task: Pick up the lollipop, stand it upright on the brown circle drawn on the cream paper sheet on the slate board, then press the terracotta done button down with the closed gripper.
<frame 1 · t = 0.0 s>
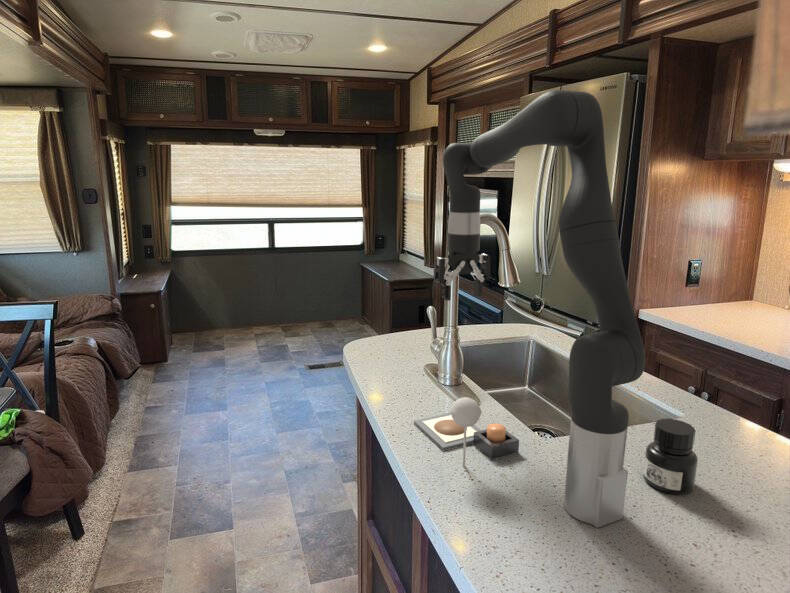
hand: (462, 298, 129), 29 cm above the worktop, tool pointing down, fingers open, 8 cm apart
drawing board: (450, 431, 125), on the worktop
button housing: (495, 448, 117), on the worktop
done button: (496, 434, 116), point 3 cm above the worktop, slide at 0.0 cm
lollipop: (463, 466, 111), on the worktop
ink bottle: (667, 483, 105), on the worktop
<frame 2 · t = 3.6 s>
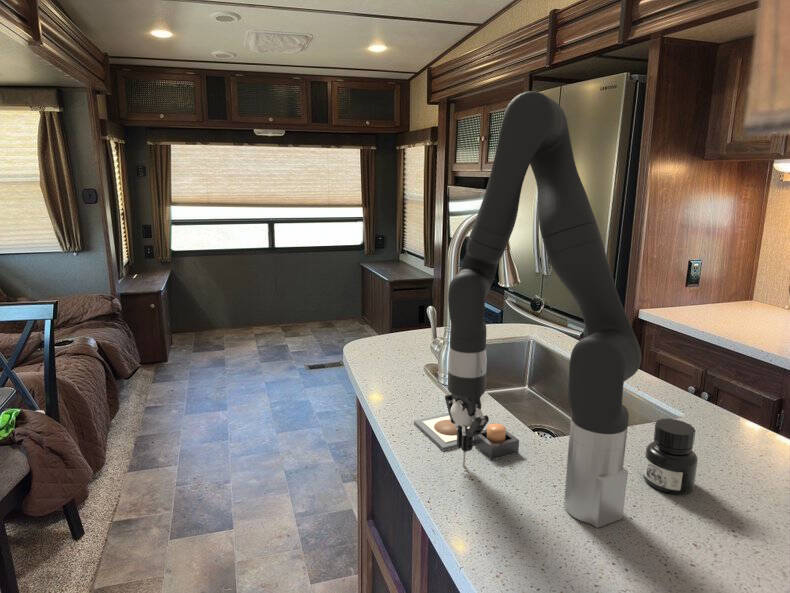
hand: (464, 448, 110), 4 cm above the worktop, tool pointing down, fingers closed on lollipop
lollipop: (463, 466, 111), on the worktop, touching gripper
everything else where it was.
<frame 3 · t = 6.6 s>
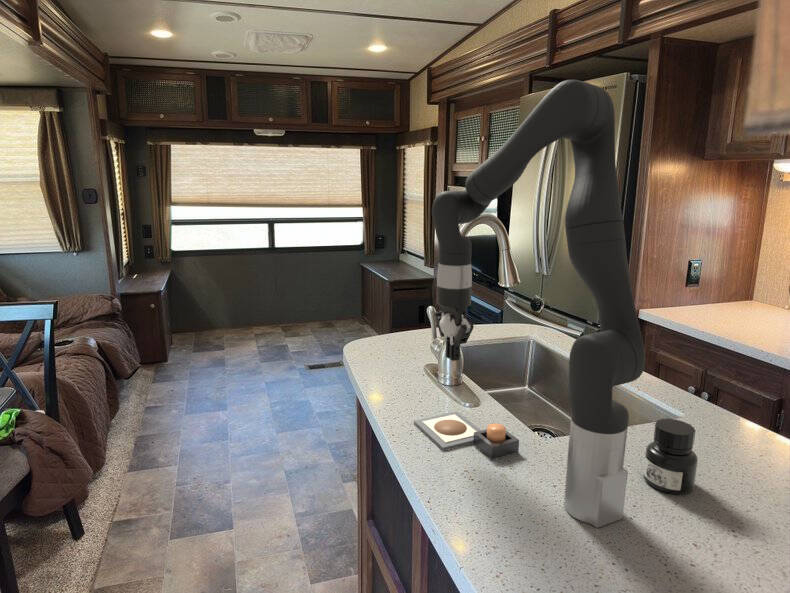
hand: (452, 358, 121), 18 cm above the worktop, tool pointing down, fingers closed on lollipop
lollipop: (452, 376, 122), point 14 cm above the worktop, touching gripper
everything else where it was.
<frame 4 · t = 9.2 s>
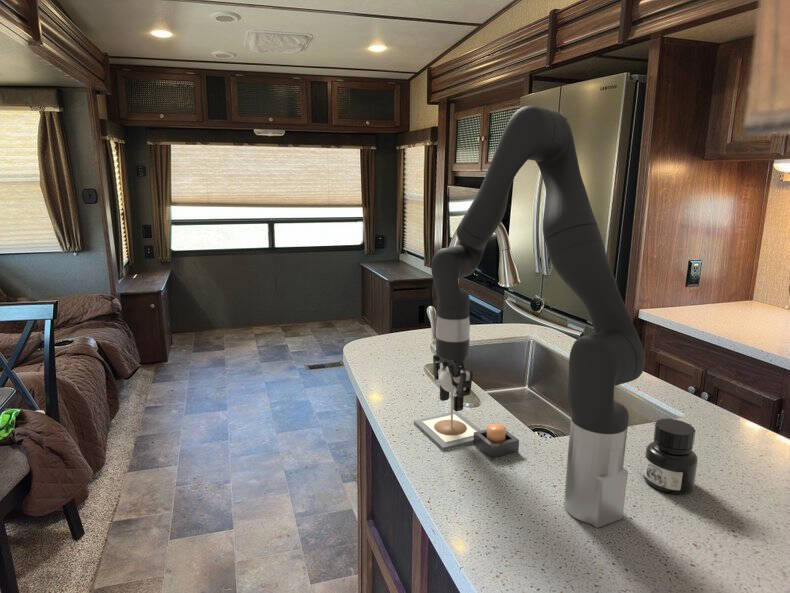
hand: (451, 404, 123), 7 cm above the worktop, tool pointing down, fingers open, 5 cm apart
lollipop: (451, 428, 124), point 1 cm above the worktop, touching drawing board
everything else where it was.
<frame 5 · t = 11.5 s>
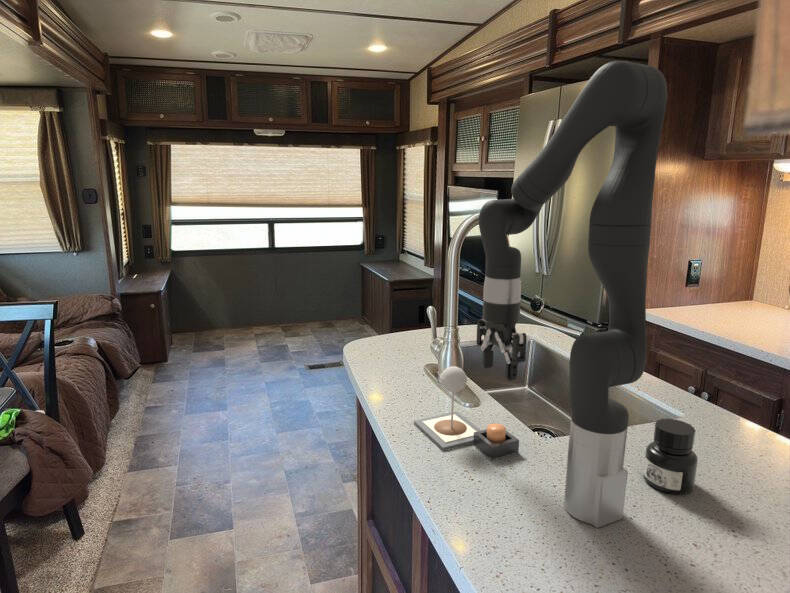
hand: (498, 373, 113), 18 cm above the worktop, tool pointing down, fingers open, 7 cm apart
nothing on the worktop moved.
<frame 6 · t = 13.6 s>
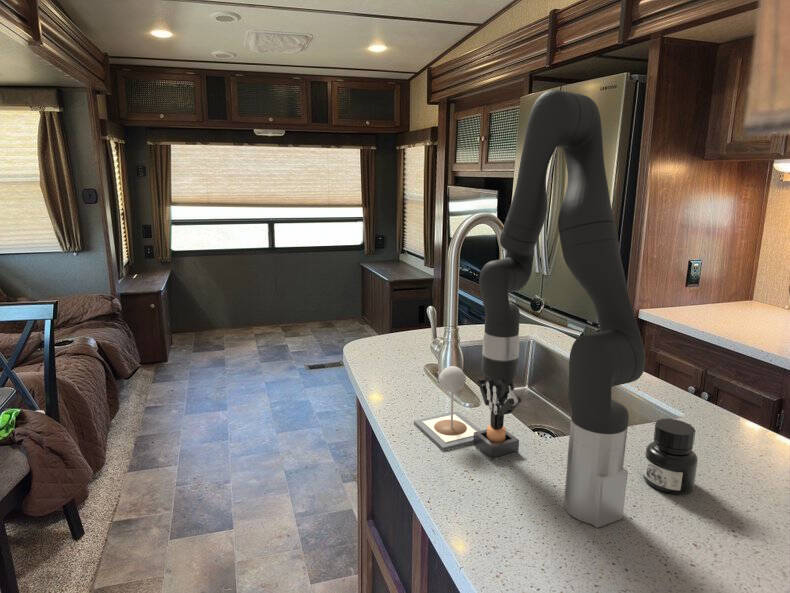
hand: (496, 427, 116), 5 cm above the worktop, tool pointing down, fingers closed
done button: (496, 434, 116), point 3 cm above the worktop, slide at 0.1 cm, touching gripper
everything else where it was.
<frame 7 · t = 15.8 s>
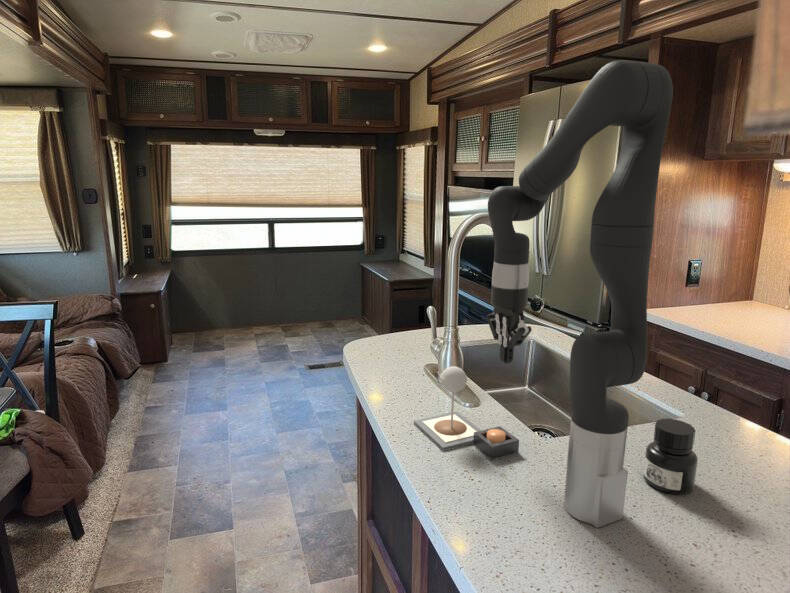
hand: (505, 361, 115), 19 cm above the worktop, tool pointing down, fingers closed
done button: (495, 439, 117), point 2 cm above the worktop, slide at 1.4 cm
everything else where it was.
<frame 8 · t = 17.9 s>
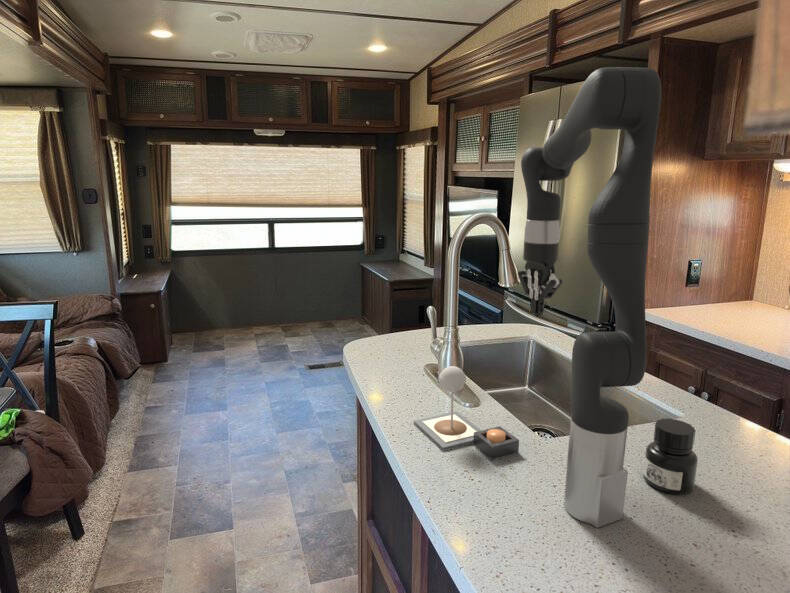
hand: (536, 314, 123), 27 cm above the worktop, tool pointing down, fingers closed
nothing on the worktop moved.
at the end: lollipop 0.4 cm off-centre on the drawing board, point 0.9 cm above the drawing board's base; lollipop tilted 1°; done button slide at 1.4 cm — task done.
